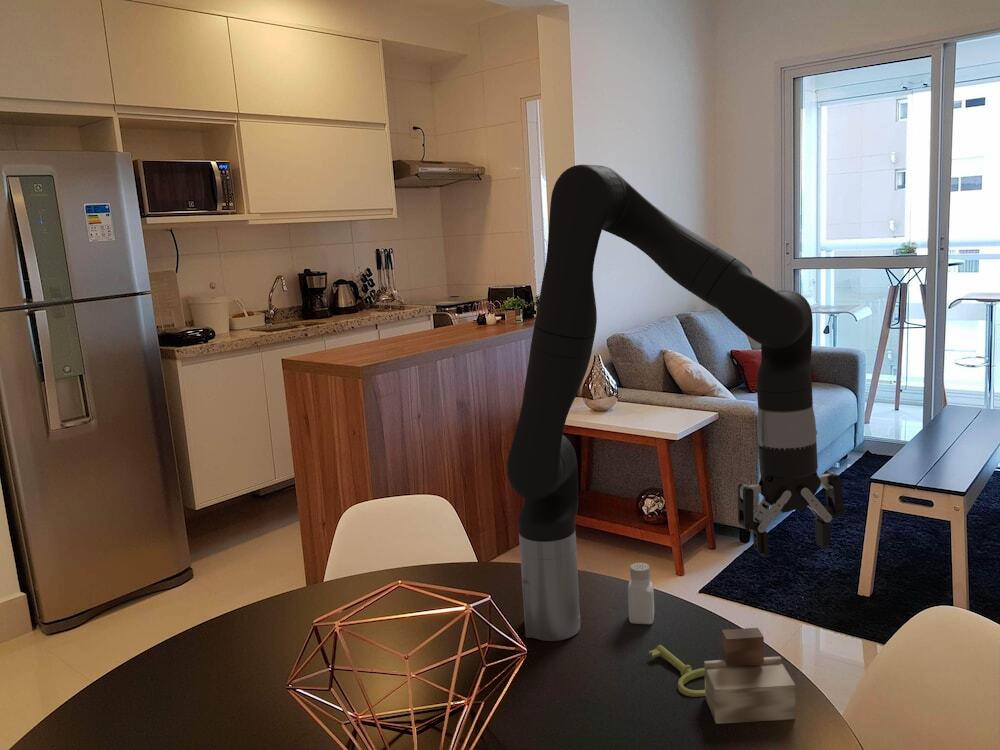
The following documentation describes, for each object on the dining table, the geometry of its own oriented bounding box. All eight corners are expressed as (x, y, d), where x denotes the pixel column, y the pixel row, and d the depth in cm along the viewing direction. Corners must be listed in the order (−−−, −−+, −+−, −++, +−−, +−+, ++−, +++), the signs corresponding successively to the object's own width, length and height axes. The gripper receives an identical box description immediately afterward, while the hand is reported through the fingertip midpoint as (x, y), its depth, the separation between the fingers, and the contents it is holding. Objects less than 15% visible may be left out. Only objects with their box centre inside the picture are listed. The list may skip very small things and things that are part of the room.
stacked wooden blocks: (713, 714, 110) (711, 652, 108) (703, 690, 115) (702, 631, 113) (791, 709, 110) (791, 647, 108) (777, 686, 115) (777, 626, 113)
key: (658, 654, 127) (657, 642, 126) (730, 682, 118) (730, 669, 118) (631, 675, 122) (630, 662, 121) (704, 706, 113) (704, 692, 113)
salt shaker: (628, 624, 135) (626, 571, 133) (630, 612, 139) (628, 560, 137) (653, 625, 134) (651, 572, 132) (654, 614, 138) (652, 561, 136)
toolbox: (716, 723, 108) (715, 689, 107) (706, 701, 113) (705, 668, 112) (795, 719, 108) (795, 685, 107) (782, 696, 113) (782, 663, 112)
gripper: (822, 425, 115) (827, 533, 118) (725, 438, 114) (733, 548, 117) (851, 437, 108) (855, 553, 111) (748, 452, 107) (755, 568, 109)
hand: (792, 550), depth 114 cm, fingers open, 8 cm apart
